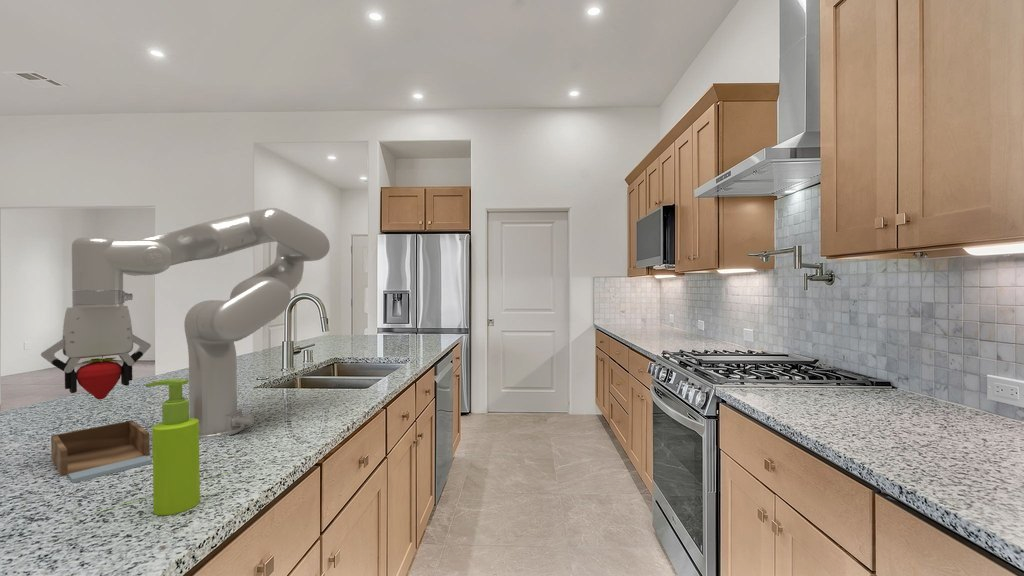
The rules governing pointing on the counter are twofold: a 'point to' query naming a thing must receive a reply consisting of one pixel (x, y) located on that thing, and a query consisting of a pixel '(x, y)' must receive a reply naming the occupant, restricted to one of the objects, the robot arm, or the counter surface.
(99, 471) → the panel
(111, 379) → the strawberry
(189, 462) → the soap dispenser
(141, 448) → the crate
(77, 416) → the counter surface
